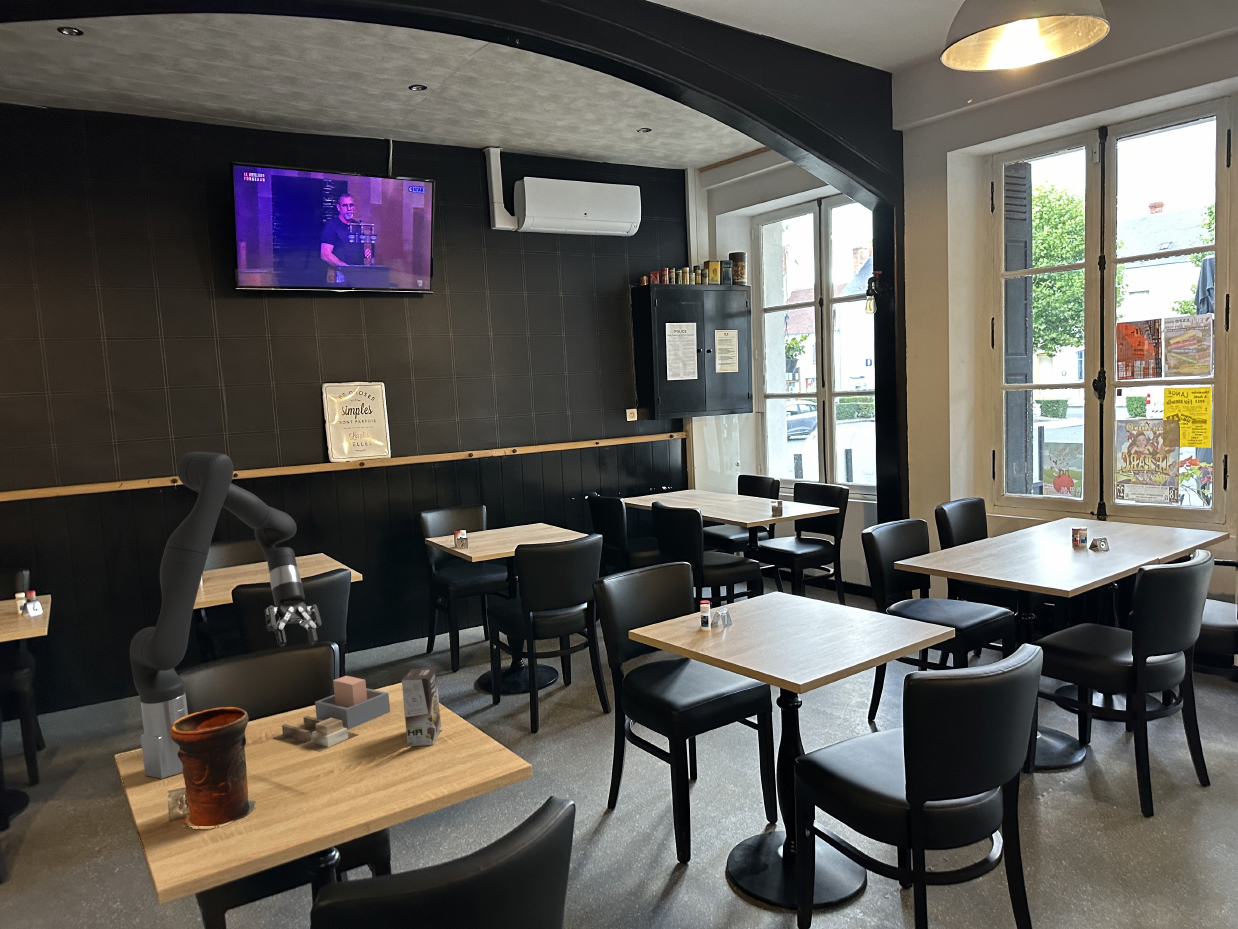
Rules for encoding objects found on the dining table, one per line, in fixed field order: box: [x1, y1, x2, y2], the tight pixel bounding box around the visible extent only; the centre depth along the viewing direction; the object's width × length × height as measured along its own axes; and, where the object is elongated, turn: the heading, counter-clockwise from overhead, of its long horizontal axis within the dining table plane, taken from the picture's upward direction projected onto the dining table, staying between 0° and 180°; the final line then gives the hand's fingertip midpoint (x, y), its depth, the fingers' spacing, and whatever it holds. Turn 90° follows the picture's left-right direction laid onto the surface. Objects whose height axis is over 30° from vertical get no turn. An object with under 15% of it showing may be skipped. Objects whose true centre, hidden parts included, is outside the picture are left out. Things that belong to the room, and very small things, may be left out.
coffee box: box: [401, 666, 443, 747], centre depth 207 cm, size 9×6×16 cm
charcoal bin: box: [314, 687, 391, 731], centre depth 224 cm, size 13×13×6 cm
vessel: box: [170, 706, 256, 829], centre depth 176 cm, size 14×14×20 cm
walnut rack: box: [273, 715, 359, 753], centre depth 212 cm, size 19×11×4 cm, turn 54°
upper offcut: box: [316, 718, 343, 735], centre depth 208 cm, size 4×4×2 cm
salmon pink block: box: [332, 675, 367, 708], centre depth 224 cm, size 8×4×10 cm, turn 53°
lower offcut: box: [312, 727, 349, 748], centre depth 208 cm, size 6×6×2 cm
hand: (298, 644), depth 223 cm, fingers open, 8 cm apart
